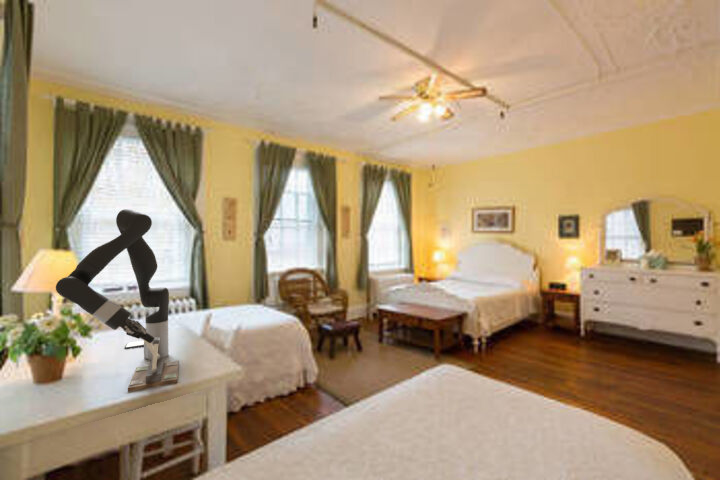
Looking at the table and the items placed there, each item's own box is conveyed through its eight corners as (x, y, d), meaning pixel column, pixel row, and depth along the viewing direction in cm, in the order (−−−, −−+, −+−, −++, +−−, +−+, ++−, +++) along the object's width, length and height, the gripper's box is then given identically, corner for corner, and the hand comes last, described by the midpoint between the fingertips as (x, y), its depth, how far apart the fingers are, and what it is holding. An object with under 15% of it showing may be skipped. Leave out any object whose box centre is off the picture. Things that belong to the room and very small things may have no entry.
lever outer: (150, 373, 123) (153, 340, 124) (151, 369, 127) (154, 337, 127) (155, 373, 124) (158, 340, 124) (156, 369, 128) (159, 337, 128)
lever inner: (155, 361, 136) (140, 336, 133) (156, 358, 139) (141, 334, 137) (160, 359, 137) (144, 334, 134) (161, 356, 140) (145, 331, 137)
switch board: (127, 392, 119) (127, 380, 119) (136, 370, 137) (136, 360, 137) (177, 382, 126) (176, 371, 126) (179, 363, 145) (179, 354, 145)
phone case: (124, 350, 163) (160, 345, 171) (123, 347, 163) (160, 342, 171) (127, 345, 171) (162, 340, 179) (127, 342, 171) (162, 337, 179)
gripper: (116, 310, 115) (158, 337, 120) (124, 303, 126) (161, 328, 132) (98, 327, 112) (142, 354, 118) (108, 318, 124) (147, 343, 130)
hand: (152, 340), depth 125 cm, fingers closed
